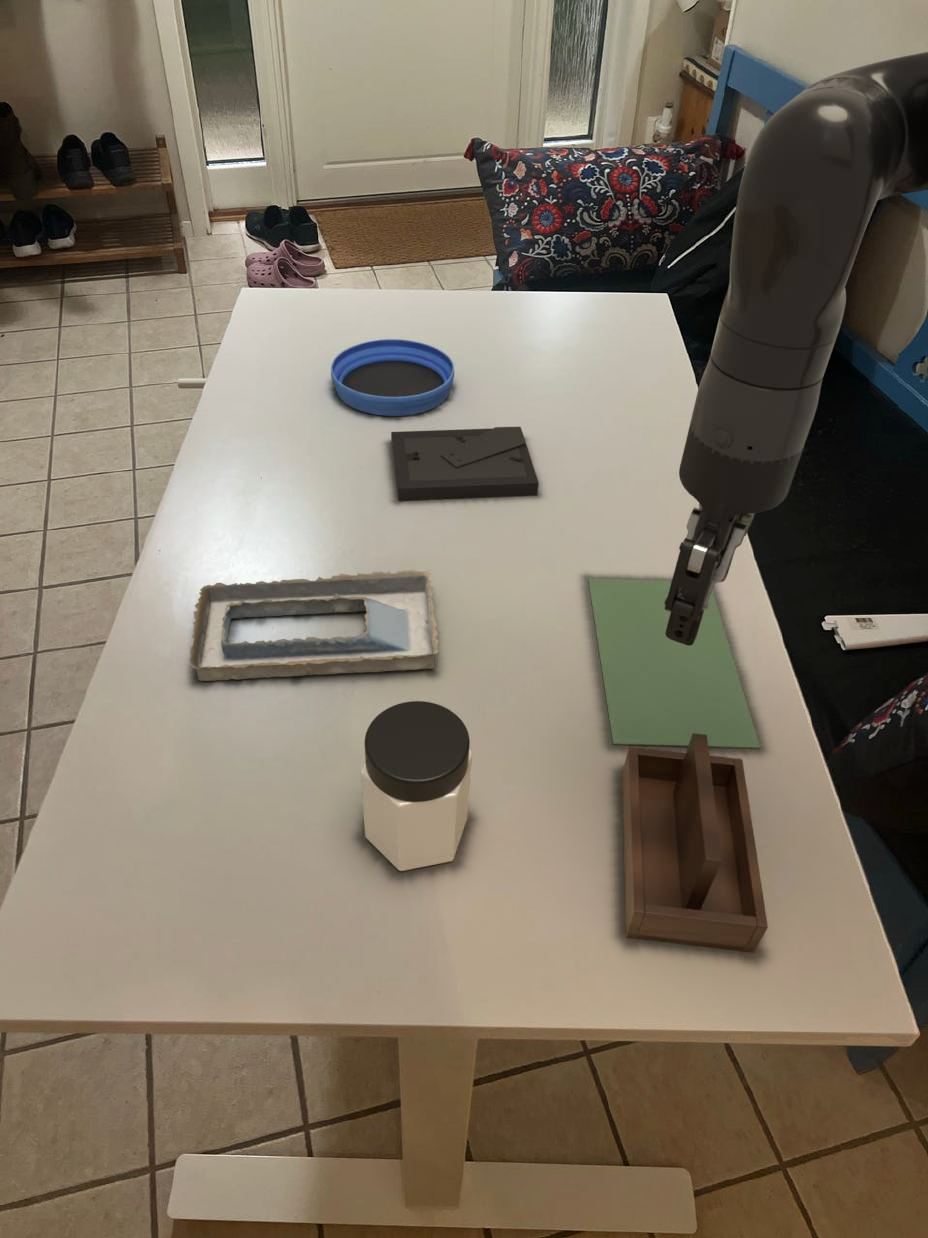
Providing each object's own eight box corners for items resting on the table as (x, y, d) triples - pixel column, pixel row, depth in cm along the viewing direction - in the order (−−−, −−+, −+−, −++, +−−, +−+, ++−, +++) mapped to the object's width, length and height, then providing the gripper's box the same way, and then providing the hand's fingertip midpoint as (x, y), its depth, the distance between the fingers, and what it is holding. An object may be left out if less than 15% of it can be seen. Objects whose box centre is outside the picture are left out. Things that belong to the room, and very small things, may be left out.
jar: (456, 781, 80) (460, 691, 72) (479, 858, 74) (487, 770, 66) (357, 798, 78) (351, 708, 70) (373, 879, 73) (368, 792, 64)
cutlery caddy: (754, 952, 69) (787, 893, 63) (625, 937, 70) (646, 876, 64) (731, 786, 81) (757, 721, 75) (621, 773, 81) (638, 709, 75)
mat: (759, 748, 84) (760, 747, 84) (612, 744, 84) (613, 743, 84) (709, 583, 102) (710, 582, 102) (588, 579, 101) (588, 578, 101)
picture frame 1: (440, 674, 90) (441, 654, 88) (188, 689, 87) (182, 669, 85) (428, 588, 99) (429, 568, 97) (201, 599, 96) (196, 578, 94)
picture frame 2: (519, 439, 123) (391, 443, 121) (521, 425, 121) (391, 429, 119) (537, 495, 113) (398, 501, 111) (539, 480, 112) (398, 486, 110)
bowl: (460, 365, 138) (460, 343, 135) (446, 425, 125) (446, 402, 122) (345, 355, 139) (344, 333, 136) (319, 413, 126) (318, 391, 123)
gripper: (779, 496, 53) (717, 681, 64) (827, 395, 62) (765, 572, 73) (659, 460, 55) (619, 645, 66) (723, 368, 65) (679, 543, 76)
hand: (696, 606), depth 70 cm, fingers open, 8 cm apart
